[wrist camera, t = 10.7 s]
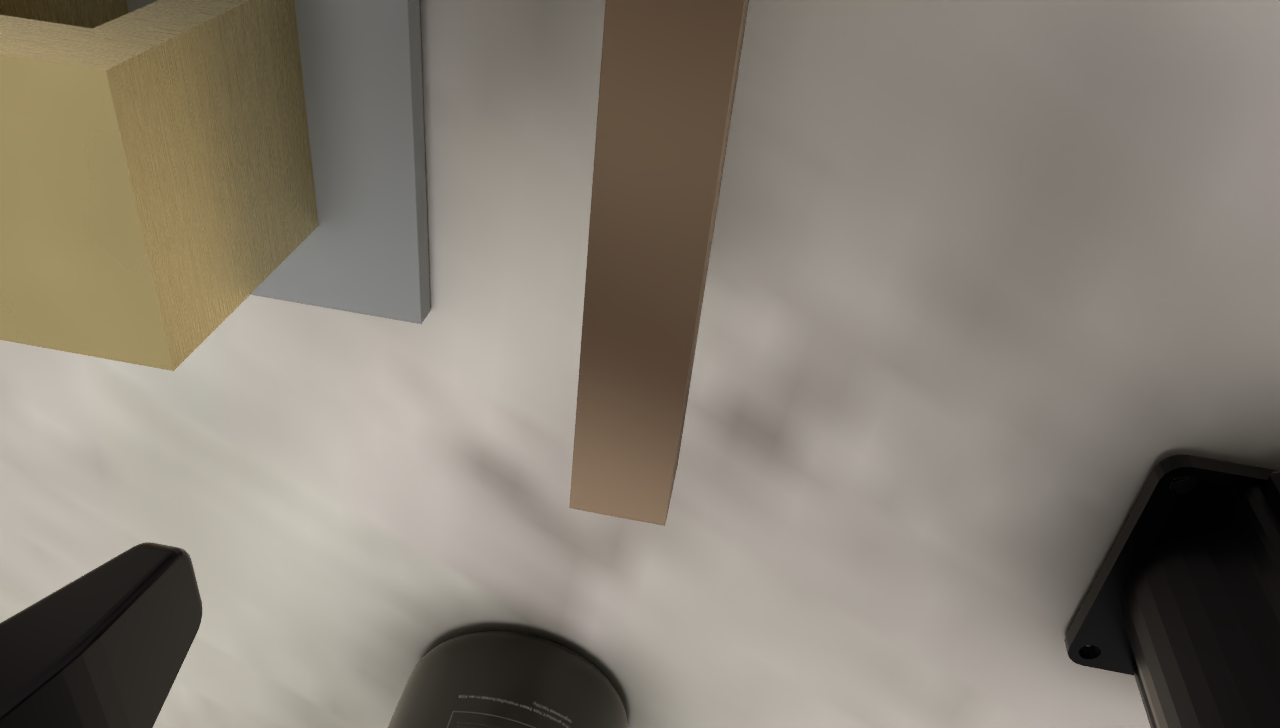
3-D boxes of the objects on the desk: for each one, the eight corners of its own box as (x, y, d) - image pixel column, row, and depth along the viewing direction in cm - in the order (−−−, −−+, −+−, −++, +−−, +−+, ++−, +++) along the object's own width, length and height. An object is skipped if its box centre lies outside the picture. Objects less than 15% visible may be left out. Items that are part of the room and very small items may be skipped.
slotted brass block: (318, 226, 20) (173, 370, 16) (114, 192, 21) (-84, 324, 16) (292, -21, 18) (105, 70, 13) (56, -55, 18) (-204, 23, 13)
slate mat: (430, 310, 22) (420, 323, 21) (59, 246, 23) (43, 258, 22) (414, -129, 17) (402, -125, 16) (-63, -193, 17) (-90, -190, 17)
